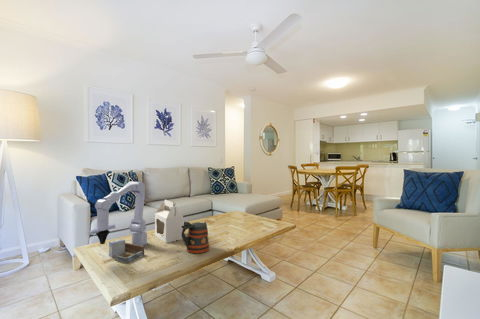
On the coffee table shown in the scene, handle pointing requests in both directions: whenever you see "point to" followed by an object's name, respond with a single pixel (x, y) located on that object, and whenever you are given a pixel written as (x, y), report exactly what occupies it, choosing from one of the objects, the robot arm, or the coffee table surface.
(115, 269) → the coffee table surface
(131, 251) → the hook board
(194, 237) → the beer stein
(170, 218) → the gable box
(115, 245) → the medicine box
